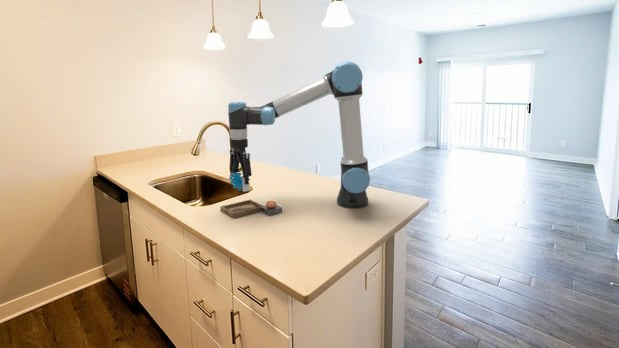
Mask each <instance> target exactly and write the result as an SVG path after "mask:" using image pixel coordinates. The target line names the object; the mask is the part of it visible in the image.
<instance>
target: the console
mask: <svg viewBox="0 0 619 348" xmlns="http://www.w3.org/2000/svg"><path fill="white" fill-rule="evenodd" d="M260 208H261V212H260V213H262V214H263V215H266V216H268V217H272V216H274V215H275V216H276V215H278V214H282V213H283V207H282V206H280V205H278V204H276V207H273V208H271V209H270V208H269V207H266V205H263V206H262V207H260Z"/></svg>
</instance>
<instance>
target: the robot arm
mask: <svg viewBox="0 0 619 348" xmlns="http://www.w3.org/2000/svg"><path fill="white" fill-rule="evenodd" d="M362 82H363V72H362V70H361V68H360V66H359V65H357V64H356V63H355V62H353V61H344V62H340V63H338V64H337V65H336V66H335V67H334V69H333V70H331V71H329V72H328V73H326V74H324V76H323V77H322V78H321V79H318V80H317V81H314V82H311V83H309V84H308V85H305V86H304V87H303V86H302V87H301V88H298V89H296V90H295V91H292V92H290V93H287V94H286V95H283V96H282V97H279V98H277V99H275V100H273V101H271V102H269V103H266V104H264V105H261V106H247V103H246V102H244V101H231V102H228V106H227V107H228V108H227V109H228V112H227V114H228V124H229V125H228V126H229V128H228V129H229V131H228V132H229V138H230V139H229V144H230V148H231V149H229V154H230V156H229V170H230V171H231V174H232V173H233V174H234V172H237V174H236V175H237V176H238V173H239V172H240V170H239V166H240V168H241V174H242V175H241V177H242V183H243V188H242V189H243V191H242V192H249V191H250V185H249V184H250V180H249V179H250V178H249V177H252V166H251V158H250V157H251V154H250V153H247V151H246V148H248V147H249V143H248V142H249V141H248V126H249V125H251V126H252V125H253V126H255V125H256V126H258V125H259V126H271V125H275V122H276V119H277V118H279V117H282V116H284V115H286V114H288V113H291V112H293V111H295V110H297V109H300V108H302V107H304V106H306V105H308V104H311V103H314V102H315V101H318V100H320V99H323V98H324V97H327V96H329V95H332V96H333V98H334V99H335V100H336V101H337V102H338V112H339V123H340V133H341V135H340V136H341V143H342V155H343V156H342V157H341V160H340V189H339V191H338V193H337V194H338V195H337V198H336V204H337V205H338V206H340V207H343V208H348V209H360V208H365V207H367V206H368V205H369V197H368V194H367V189H368V187H369V186H370V183H371V175H370V174H369V164H368V163H369V162H368V158H366V157H365V156H364V146H363V145H364V143H363V133H362V131H363V130H362V129H363V128H362V120H361V117H362V116H361V107H360V106H361V105H360V104H361V103H360V99H361V97H362V96H363V84H362ZM234 176H235V175H234ZM233 182H234V181H233ZM233 185H235V184H233ZM236 188H239V186H237V187H236ZM366 205H367V206H366ZM364 206H365V207H364Z"/></svg>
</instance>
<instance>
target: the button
mask: <svg viewBox="0 0 619 348" xmlns="http://www.w3.org/2000/svg"><path fill="white" fill-rule="evenodd" d="M276 205H277V202H276V201H275V200H269V201H266V202H265V206H266V207H269V208H270V209H271V208H273V207H276Z"/></svg>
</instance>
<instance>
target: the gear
mask: <svg viewBox="0 0 619 348" xmlns="http://www.w3.org/2000/svg"><path fill="white" fill-rule="evenodd" d="M237 173H238V176H237V175H236V174H237ZM234 175H235V176H234ZM228 179H229V180H230V182H229V183H230V185H232V189H234V190H235V189H236V188H237V191H239V192H240V191H241V190H242V192H243V183H242V172H240V171H239V172H234V174H233V173H232V172H231V173H230V177H229V178H228ZM250 180H251V179H250V178H249V181H250ZM233 181H234V182H233ZM234 184H235V185H234ZM250 185H251V184H250V183H249V186H250ZM237 186H239V187H237Z"/></svg>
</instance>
